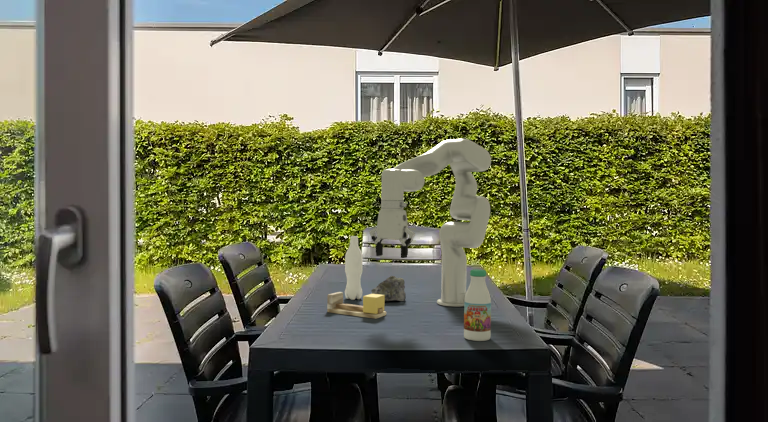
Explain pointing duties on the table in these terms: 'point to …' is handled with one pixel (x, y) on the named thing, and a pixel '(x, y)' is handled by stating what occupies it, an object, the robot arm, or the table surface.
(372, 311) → the block
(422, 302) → the table surface
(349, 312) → the rail
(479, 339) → the milk bottle
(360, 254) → the white bottle
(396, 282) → the mineral rock
